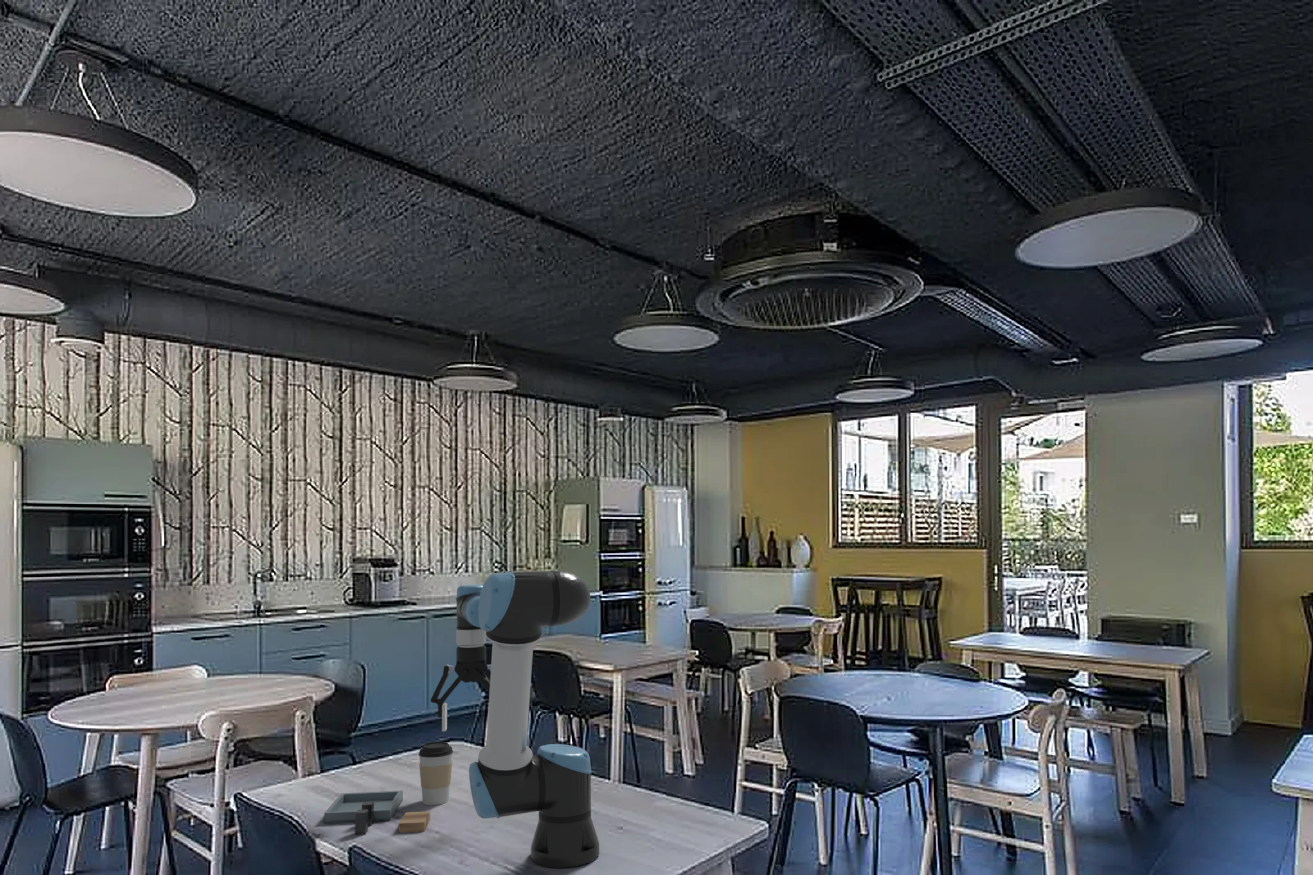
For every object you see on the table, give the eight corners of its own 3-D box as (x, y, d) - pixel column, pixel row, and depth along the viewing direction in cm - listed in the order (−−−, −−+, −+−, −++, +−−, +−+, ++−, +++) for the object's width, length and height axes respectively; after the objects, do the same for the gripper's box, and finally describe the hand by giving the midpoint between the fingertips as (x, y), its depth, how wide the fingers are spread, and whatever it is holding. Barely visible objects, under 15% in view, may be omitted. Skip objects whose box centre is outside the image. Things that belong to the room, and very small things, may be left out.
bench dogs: (365, 834, 210) (365, 812, 210) (355, 834, 210) (355, 813, 210) (373, 822, 218) (373, 801, 219) (363, 822, 218) (364, 802, 219)
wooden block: (424, 833, 211) (424, 822, 212) (399, 834, 211) (399, 823, 211) (430, 821, 219) (430, 811, 220) (405, 822, 219) (405, 812, 219)
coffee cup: (457, 795, 238) (457, 739, 240) (446, 806, 229) (446, 747, 231) (425, 795, 239) (425, 738, 240) (412, 806, 230) (413, 747, 232)
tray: (390, 820, 220) (390, 810, 220) (324, 823, 218) (324, 813, 218) (402, 800, 235) (402, 790, 236) (341, 803, 234) (341, 793, 234)
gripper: (521, 642, 232) (521, 724, 230) (425, 644, 231) (425, 727, 229) (518, 645, 225) (518, 731, 222) (419, 648, 223) (418, 734, 221)
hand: (471, 729), depth 225 cm, fingers open, 13 cm apart
